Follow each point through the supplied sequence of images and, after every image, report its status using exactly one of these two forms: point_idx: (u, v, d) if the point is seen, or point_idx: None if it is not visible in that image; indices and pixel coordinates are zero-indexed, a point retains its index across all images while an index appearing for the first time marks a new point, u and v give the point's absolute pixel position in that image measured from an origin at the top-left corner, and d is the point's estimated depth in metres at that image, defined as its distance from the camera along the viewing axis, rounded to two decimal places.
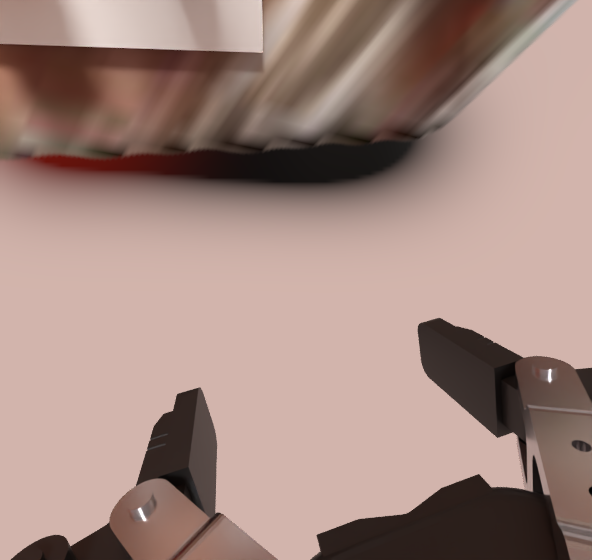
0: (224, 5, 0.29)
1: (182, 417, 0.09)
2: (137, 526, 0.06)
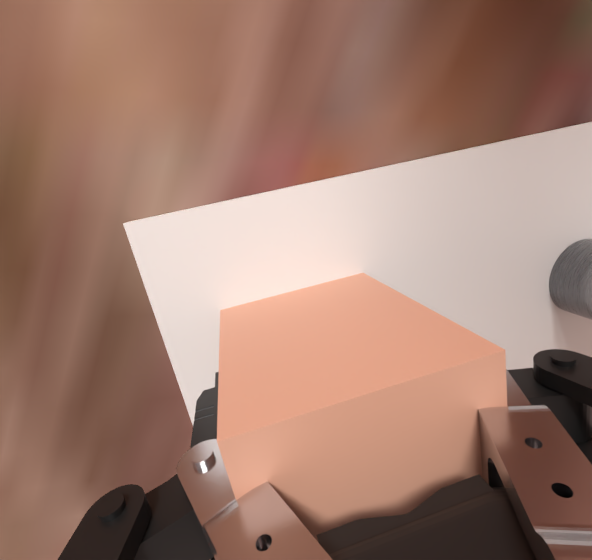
0: None
1: None
2: (204, 476, 0.07)
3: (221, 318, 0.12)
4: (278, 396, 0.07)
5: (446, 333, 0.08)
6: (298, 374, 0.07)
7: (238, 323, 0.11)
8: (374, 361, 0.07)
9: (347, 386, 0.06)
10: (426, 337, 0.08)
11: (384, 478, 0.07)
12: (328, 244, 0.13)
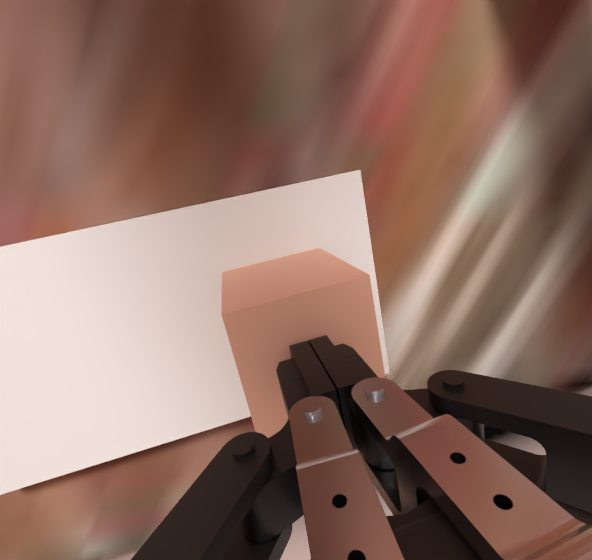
0: None
1: (306, 360, 0.11)
2: (319, 424, 0.08)
3: (222, 275, 0.18)
4: (252, 299, 0.13)
5: (347, 271, 0.14)
6: (264, 292, 0.13)
7: (233, 276, 0.17)
8: (304, 284, 0.13)
9: (287, 293, 0.13)
10: (336, 273, 0.14)
11: None
12: (42, 286, 0.17)
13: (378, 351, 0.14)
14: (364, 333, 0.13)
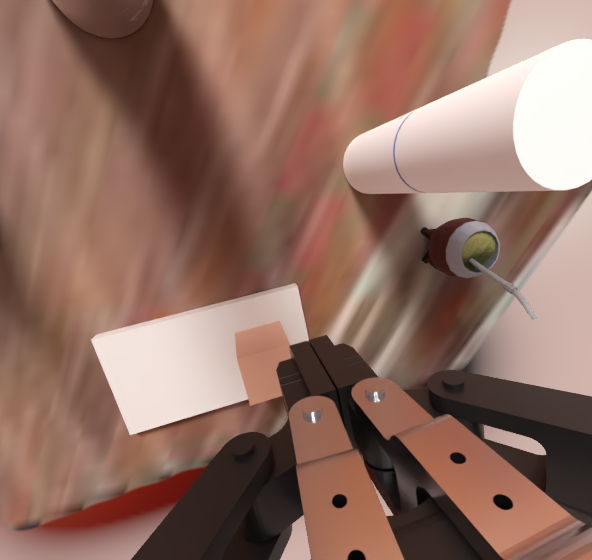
0: None
1: (306, 360, 0.11)
2: (319, 424, 0.08)
3: (235, 336, 0.40)
4: (247, 352, 0.35)
5: (283, 340, 0.36)
6: (252, 349, 0.36)
7: (240, 337, 0.39)
8: (267, 346, 0.36)
9: (260, 350, 0.35)
10: (279, 341, 0.36)
11: (268, 368, 0.35)
12: (158, 341, 0.39)
13: None
14: None
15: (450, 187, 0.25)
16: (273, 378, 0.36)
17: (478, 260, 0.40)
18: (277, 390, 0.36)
